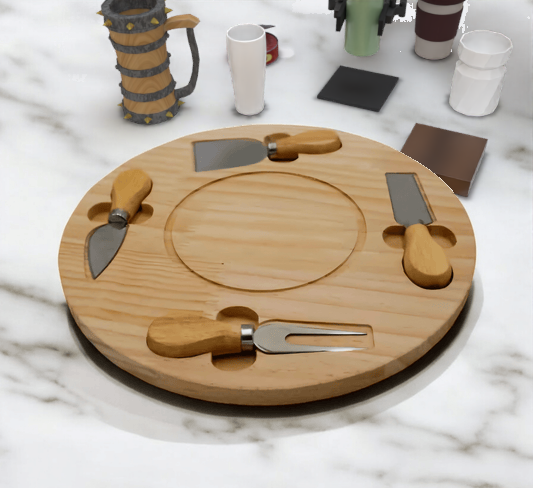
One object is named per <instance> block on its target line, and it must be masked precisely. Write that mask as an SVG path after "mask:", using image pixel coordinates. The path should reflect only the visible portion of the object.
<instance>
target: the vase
mask: <svg viewBox="0 0 533 488" xmlns="http://www.w3.org/2000/svg"><path fill="white" fill-rule="evenodd" d="M458 43H459V44H458V47H457V55H458V60H456V63H455V68H454V71H453V75H452V79H451V84H450V95H449V99H448V105H449V106H450V107H451V108H452V109H453V110H454V111H455V112H457V113H460V114H463V115H464V116H469V117H484V116H487V115H491V114H493V113H494V111H495V110H496V109H497V107H498V105H499V102H500V98H501V92H502V90H503V86H504V83H505V79H506V75H507V67H506V66H505V65H506V64H508V63H509V61H510V57H511V53H512V50H513V47H514V46H513V42H512V38H510V37H508V36H507V35H505V34H503V33H502V32H498V31H493V30H489V29H475V30H470V31H469V32H466V33H463V34H462V36H461V38H460V39H459V42H458Z"/></svg>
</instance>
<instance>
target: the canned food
mask: <svg viewBox="0 0 533 488" xmlns="http://www.w3.org/2000/svg"><path fill="white" fill-rule="evenodd" d="M258 25H259V26H261V27H262V28H264V30H268V29H272V28H276V25H273V24H258ZM265 35H266V67H267V66H269V65H271V64H273V63H275V62H276V61H277V59H278V58H279V55H280V54H279V39H278V37H277V36H276V35H275V34H273V33H271V32H269V31H265Z"/></svg>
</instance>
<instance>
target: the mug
mask: <svg viewBox="0 0 533 488" xmlns="http://www.w3.org/2000/svg"><path fill="white" fill-rule="evenodd" d="M166 1H167V0H104V1H103V2H102V3H101V4H100V10H99V11H97V12H95V14H96V15H99V16H102V17H103V24H102V26H104V27H105V28H107V30H108V33H109V34H108V37H107V38H108V40H109V41H110V44H111V45H112V48H113V49H114V51H115V56H116V60H115V61H116V64H115V65H114V69H115V70H118V72H119V73H120V78H121V80H120V82H119V83H118V87H119V88H120V94H121V95H122V97H123V98H122V99H121V102H120V103H118V104H117V106H118V107H121V108H122V109H123V115H124V117H123V119H124V120H128V121H130V122H132V123H135V124H138V125H155V124H161V123H163V122H166V121H169V120H171V119H172V118H174V117H175V116H176V115H177V114H178V112H179V111H180V109H181V106H182V105H184V104H186V102H185V101H182V100H180V99H182V98H183V99H184V98H186V97H188V96H190V95H192V93H194V91H195V89H196V86H197V83H198V78H199V72H200V71H199V70H200V61H201V58H200V53H199V47H198V43H197V40H196V35H195V30H194V29H195V28H196V27H197V26H198V25H199V23H200V22H201V20H200V18H199V17H197V16H195V15H193V14H191V13H186V14H185V13H184V14H177V15H173V16H170V17H168V14H169V13H171V12H173V11H174V10H173V9H171V8H169V7H166V6H167V5H166ZM176 29H185V31H186V39H187V42H188V46H189V50H190V54H191V59H192V60H191V61H192V67H191V69H192V70H191V74H190V78H189V81H188V83H187V84H186V85H185V86H182V87H179V88H176V85H177V81H176V80H175V79H174V77H173V74H172V73H171V69H170V65H171V59H170V58H171V57H172V54H171V52H169V51H168V50H167V49H168V47H167V41H168V39H170V34H169V32H168V31H172V30H176Z"/></svg>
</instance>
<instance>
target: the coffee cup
mask: <svg viewBox="0 0 533 488" xmlns="http://www.w3.org/2000/svg"><path fill="white" fill-rule="evenodd" d="M466 1H467V0H417V1H416V4H415V18H414V19H415V21H414V34H415V35H414V36H415V37H414V53H415V54H416V55H418V56H419V57H420V58H422V59H425V60H433V61H434V60H435V61H436V60H438V61H439V60H442V59H446V58H448V57H449V56H450V54H451V53H452V49H453V45H454V42H455V38H456V37H457V34H458V31H459V27H460V23H461V19H462V15H463V11H464V2H466Z"/></svg>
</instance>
